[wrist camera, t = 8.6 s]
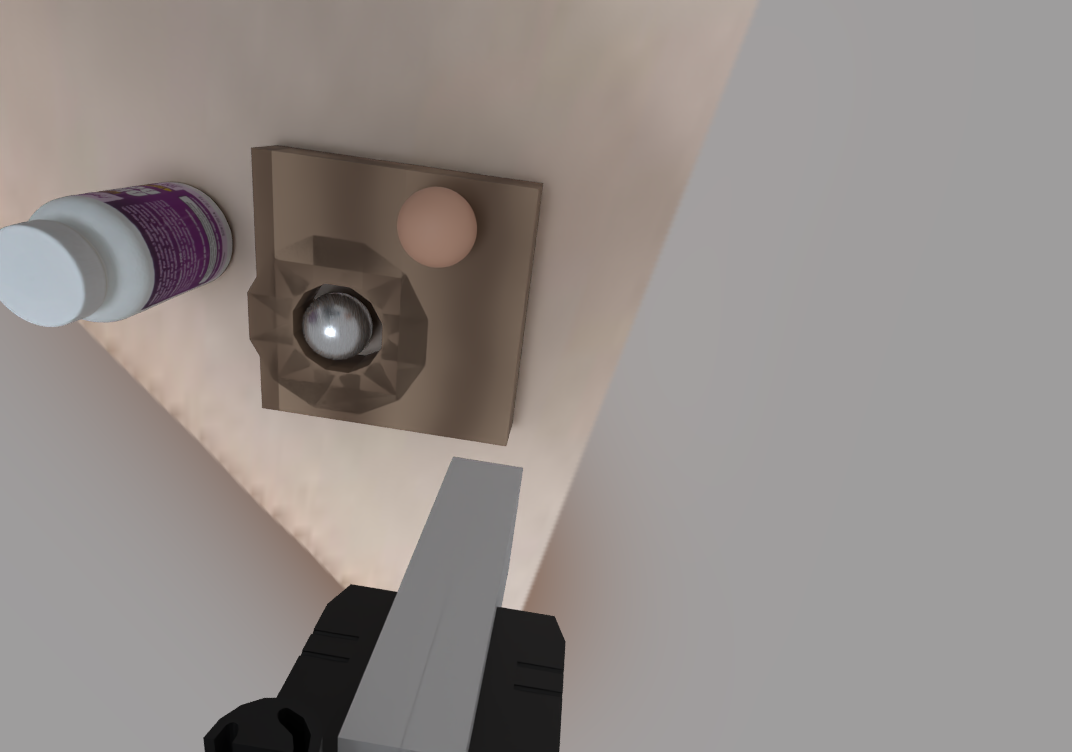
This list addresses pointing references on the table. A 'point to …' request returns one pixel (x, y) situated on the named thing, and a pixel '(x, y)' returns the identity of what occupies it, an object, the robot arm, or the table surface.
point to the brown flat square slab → (390, 294)
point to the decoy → (437, 227)
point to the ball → (337, 326)
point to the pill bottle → (111, 253)
